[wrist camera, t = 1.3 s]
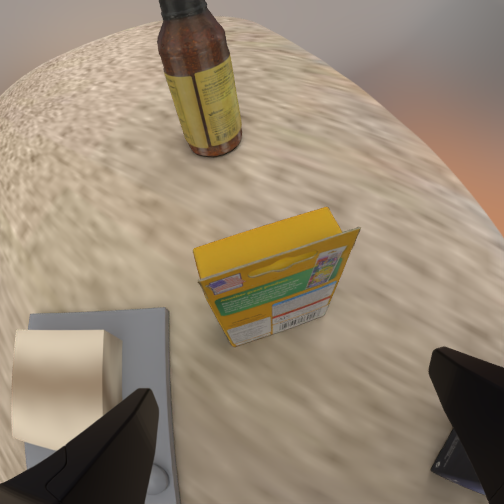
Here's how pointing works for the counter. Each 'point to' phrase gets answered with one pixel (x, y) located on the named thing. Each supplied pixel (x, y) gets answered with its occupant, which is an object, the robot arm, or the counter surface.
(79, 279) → the counter surface
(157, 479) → the baseplate
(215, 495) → the counter surface
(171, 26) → the sauce bottle
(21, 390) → the base brick
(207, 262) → the crayon box
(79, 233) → the counter surface
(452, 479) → the small box
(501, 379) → the robot arm
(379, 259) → the counter surface
